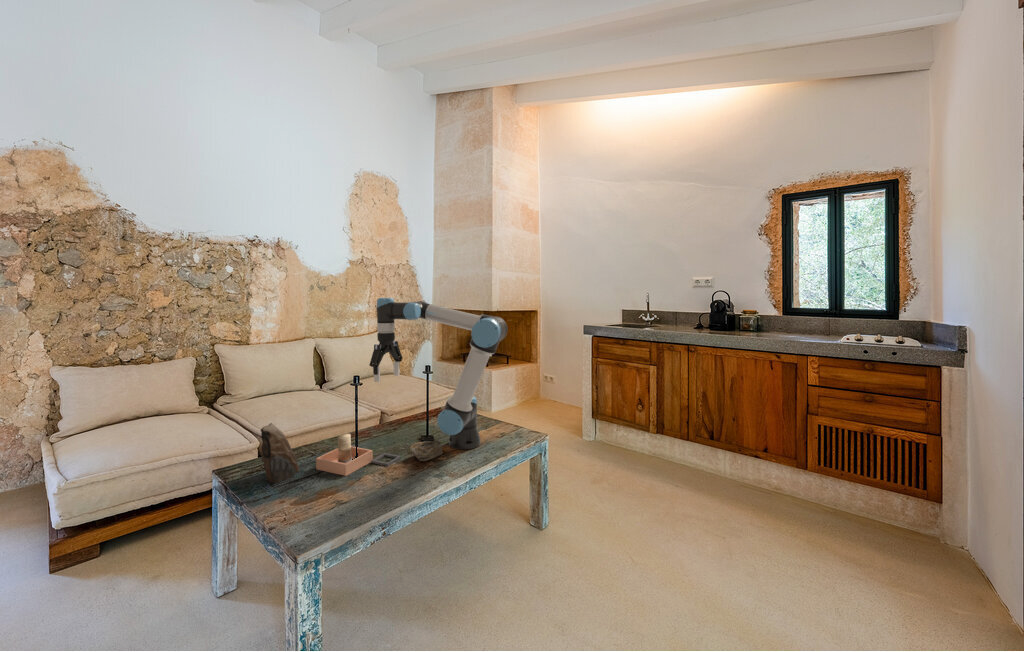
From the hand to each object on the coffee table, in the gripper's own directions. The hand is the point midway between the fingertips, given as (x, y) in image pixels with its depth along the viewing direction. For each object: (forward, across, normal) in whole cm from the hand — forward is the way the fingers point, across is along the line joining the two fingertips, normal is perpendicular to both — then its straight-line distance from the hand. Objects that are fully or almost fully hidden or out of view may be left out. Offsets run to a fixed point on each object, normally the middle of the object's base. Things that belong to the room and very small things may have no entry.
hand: (387, 378), depth 190 cm
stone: (+33, +3, +22) cm, 40 cm away
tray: (+33, +22, -5) cm, 40 cm away
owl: (+33, +40, -21) cm, 55 cm away
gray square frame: (+33, +12, +8) cm, 36 cm away
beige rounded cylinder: (+32, +22, -5) cm, 39 cm away
